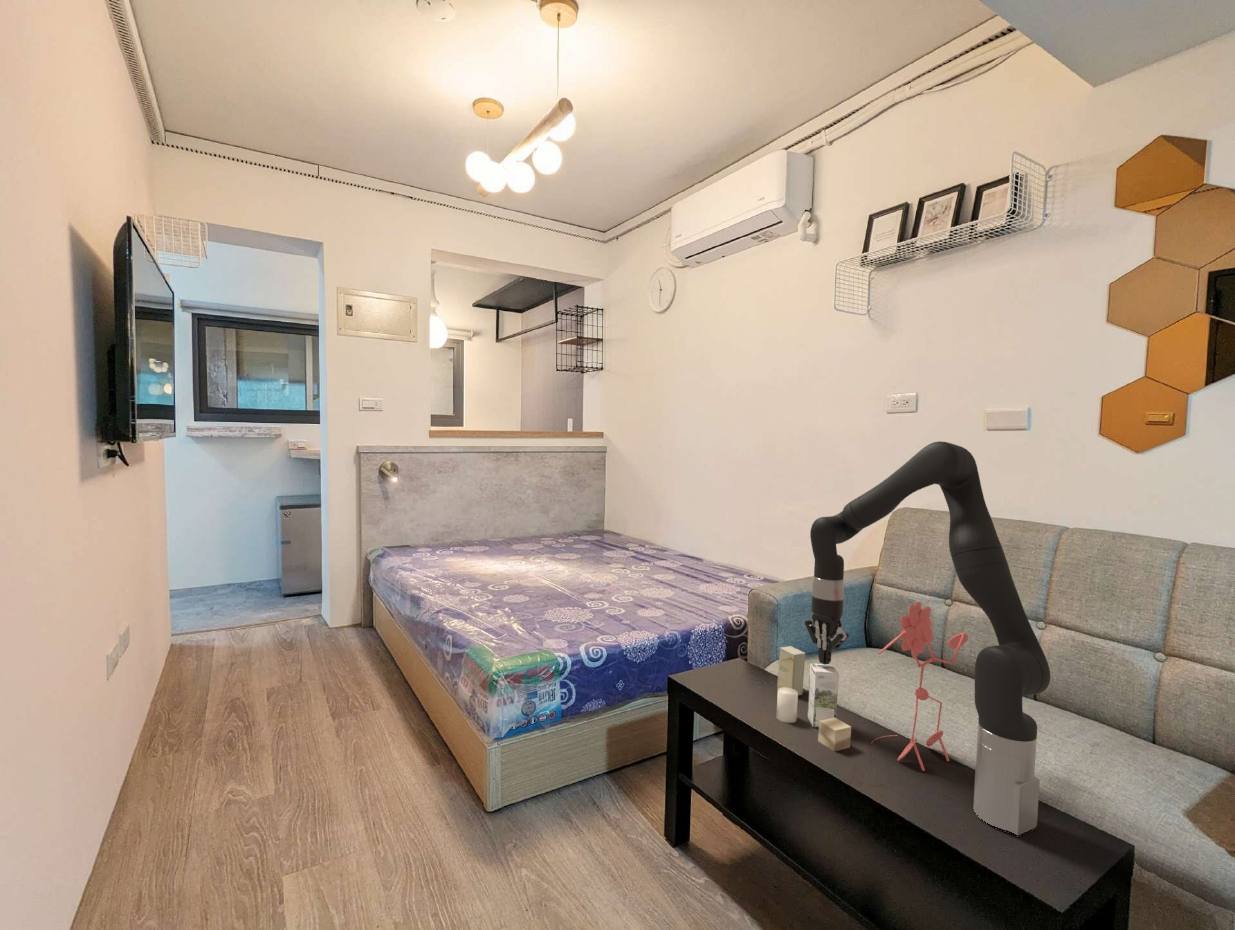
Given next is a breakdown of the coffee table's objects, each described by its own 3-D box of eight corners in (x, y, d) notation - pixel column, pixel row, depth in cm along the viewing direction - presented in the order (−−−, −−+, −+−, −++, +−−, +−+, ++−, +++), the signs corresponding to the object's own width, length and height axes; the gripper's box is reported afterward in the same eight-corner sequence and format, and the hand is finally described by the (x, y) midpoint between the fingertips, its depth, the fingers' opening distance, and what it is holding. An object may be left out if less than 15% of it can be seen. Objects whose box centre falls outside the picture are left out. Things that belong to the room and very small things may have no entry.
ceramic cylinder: (800, 720, 147) (802, 693, 147) (785, 724, 145) (786, 696, 145) (787, 712, 152) (788, 686, 151) (772, 715, 149) (773, 688, 149)
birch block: (850, 747, 135) (851, 726, 134) (834, 751, 132) (835, 730, 132) (833, 737, 139) (834, 717, 139) (818, 741, 137) (819, 720, 137)
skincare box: (776, 688, 167) (778, 647, 166) (788, 686, 169) (790, 645, 168) (791, 697, 161) (793, 654, 161) (803, 695, 163) (806, 652, 163)
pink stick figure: (974, 754, 133) (979, 604, 133) (903, 782, 121) (909, 616, 120) (912, 727, 147) (916, 590, 146) (843, 749, 134) (847, 599, 134)
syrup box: (829, 719, 149) (832, 663, 148) (836, 730, 143) (839, 672, 142) (807, 717, 149) (809, 661, 149) (812, 728, 143) (815, 670, 143)
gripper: (859, 600, 141) (856, 670, 141) (819, 588, 153) (816, 652, 153) (837, 603, 138) (833, 674, 138) (797, 590, 149) (794, 656, 150)
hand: (824, 663), depth 146 cm, fingers closed
